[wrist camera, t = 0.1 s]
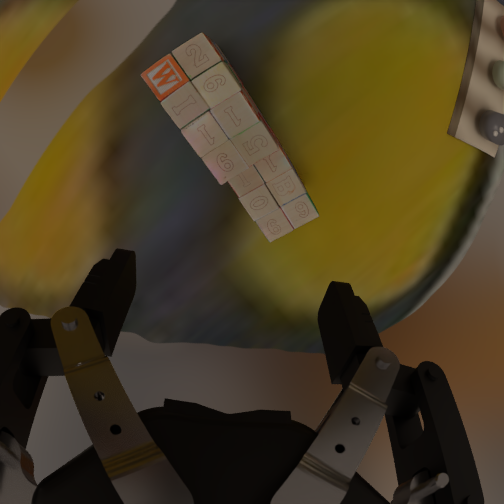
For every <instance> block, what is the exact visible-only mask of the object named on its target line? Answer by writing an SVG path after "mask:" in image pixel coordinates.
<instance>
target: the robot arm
mask: <svg viewBox="0 0 504 504" xmlns="http://www.w3.org/2000/svg"><path fill="white" fill-rule="evenodd" d="M135 290H136V255H135V251H130V250H124V249H118V248H117V249H116V250H115V251H114V253H113V255H112V257H111V258H110V260H108V259H102V260H101V261H99V262H98V263H96V264H95V265H94V266H93V267H92V269H91V271H90V272H89V275H88V276H87V277H86V279H85V281H84V282H83V284H82V286H81V287H80V289H79V291H78V292H77V294H76V296H75V297H74V299H73V301H72V303H71V304H70V306H69V307H65V308H62V309H60V310H58V311H57V312H56V313H55V314H54V315H53V316H52V318H50V319H31V318H30V315H29V313H28V312H27V311H26V310H25V309H22V308H11V309H8V310H6V311H5V312H3V313H2V314H1V315H0V504H390V503H389V502H388V501H387V500H386V499H385V498H384V497H383V496H381V494H380V493H378V492H377V491H376V490H375V489H374V488H373V487H372V486H371V485H370V484H369V483H368V482H367V481H366V480H364V479H363V478H362V477H361V476H360V475H359V474H358V473H357V472H356V470H357V468H358V466H359V464H360V463H361V461H362V459H363V457H364V455H365V453H366V451H367V449H368V447H369V446H370V443H371V442H372V440H373V437H374V436H375V433H376V431H377V429H378V427H379V425H380V423H381V421H382V419H383V416H384V414H385V418H386V423H387V427H388V432H389V437H390V442H391V447H392V451H393V457H394V463H395V468H396V474H397V480H398V487H397V488H396V490H395V492H394V494H393V500H392V501H391V504H484V497H483V492H482V488H481V484H480V480H479V476H478V472H477V468H476V465H475V461H474V458H473V454H472V451H471V448H470V444H469V441H468V438H467V435H466V431H465V428H464V425H463V422H462V419H461V416H460V413H459V411H458V408H457V405H456V402H455V399H454V397H453V394H452V391H451V389H450V386H449V384H448V381H447V379H446V376H445V374H444V372H443V370H442V369H441V368H440V367H439V366H438V365H437V364H435V363H433V362H430V361H424V362H422V363H420V364H419V366H418V367H417V368H416V369H415V368H412V367H409V366H405V365H402V364H400V363H399V360H398V358H397V356H396V355H395V354H394V353H393V352H392V351H390V350H389V349H387V348H384V347H383V345H382V343H381V340H380V338H379V335H378V332H377V330H376V327H375V325H374V323H373V320H372V317H371V316H370V312H369V310H368V308H367V305H366V304H365V303H364V302H363V300H362V299H361V298H360V297H359V296H355V295H354V292H353V290H352V287H351V285H350V284H349V283H344V282H336V281H332V282H331V283H330V284H329V286H328V289H327V291H326V294H325V296H324V298H323V301H322V303H321V305H320V308H319V311H318V325H319V329H320V333H321V338H322V342H323V347H324V351H325V355H326V360H327V365H328V369H329V374H330V378H331V383H332V384H342V388H343V389H342V391H341V392H340V393H339V395H338V397H337V398H336V400H335V401H334V403H333V404H332V406H331V408H330V409H329V410H328V412H327V413H326V415H325V416H324V418H323V419H322V421H321V422H320V424H319V425H318V426H317V428H316V429H315V430H312V429H311V428H309V427H307V426H306V425H304V424H302V423H299V422H297V421H294V420H291V413H290V411H274V410H256V411H249V412H242V413H235V414H226V413H223V412H220V411H217V410H214V409H211V408H208V407H205V406H202V405H200V404H197V403H191V402H184V401H178V400H172V399H165V401H164V407H155V408H150V409H146V410H143V411H140V412H138V413H137V412H136V410H135V409H134V407H133V405H132V403H131V401H130V399H129V398H128V396H127V394H126V392H125V390H124V388H123V386H122V384H121V382H120V380H119V378H118V376H117V374H116V372H115V370H114V368H113V366H112V364H111V362H110V360H109V358H108V357H107V356H112V353H113V351H114V348H115V345H116V342H117V339H118V337H119V334H120V331H121V329H122V326H123V323H124V321H125V318H126V316H127V313H128V310H129V308H130V305H131V303H132V300H133V298H134V295H135ZM105 355H106V356H105ZM63 375H64V376H65V377H66V380H67V383H68V385H69V388H70V391H71V394H72V396H73V399H74V401H75V404H76V407H77V409H78V411H79V414H80V416H81V419H82V421H83V423H84V426H85V428H86V430H87V433H88V435H89V437H90V439H91V441H92V443H93V445H91V446H90V447H88V448H87V449H86V450H84V451H83V452H82V453H80V454H79V455H77V456H76V457H75V458H73V459H72V460H70V461H69V462H67V463H66V464H65V465H63V466H62V467H60V468H59V469H58V470H56V471H55V472H53V473H52V474H50V475H49V476H47V477H46V478H44V479H43V480H42V481H41V482H40V483H39V484H38V485H37V483H36V481H35V478H34V463H33V459H32V457H31V455H30V454H29V453H28V451H26V445H27V442H28V438H29V434H30V431H31V427H32V424H33V421H34V417H35V414H36V411H37V407H38V405H39V402H40V399H41V396H42V393H43V390H44V387H45V384H46V381H47V378H48V376H63ZM419 411H421V415H422V419H423V422H424V431H423V429H422V426H421V422H420V418H419V415H418V412H419Z"/></svg>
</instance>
